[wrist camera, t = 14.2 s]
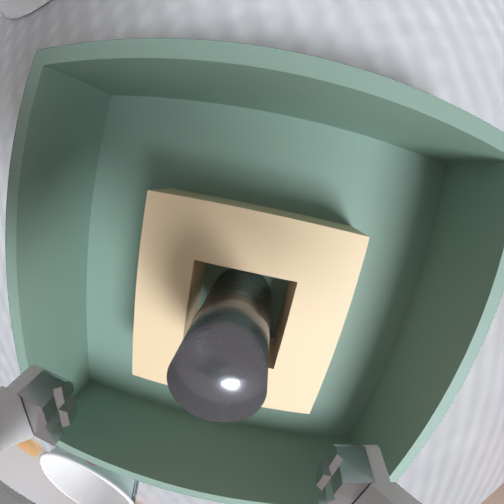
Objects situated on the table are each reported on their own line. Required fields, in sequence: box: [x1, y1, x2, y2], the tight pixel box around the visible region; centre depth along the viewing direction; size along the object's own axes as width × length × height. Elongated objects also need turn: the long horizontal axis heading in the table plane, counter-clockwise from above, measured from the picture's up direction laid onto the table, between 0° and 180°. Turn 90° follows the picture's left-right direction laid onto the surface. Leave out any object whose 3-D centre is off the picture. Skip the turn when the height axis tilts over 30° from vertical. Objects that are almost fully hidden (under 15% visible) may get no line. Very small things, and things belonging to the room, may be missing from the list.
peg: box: [167, 268, 271, 423], centre depth 16 cm, size 4×4×10 cm
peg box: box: [5, 38, 504, 504], centre depth 18 cm, size 26×26×9 cm
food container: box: [39, 446, 139, 504], centre depth 25 cm, size 12×12×6 cm
